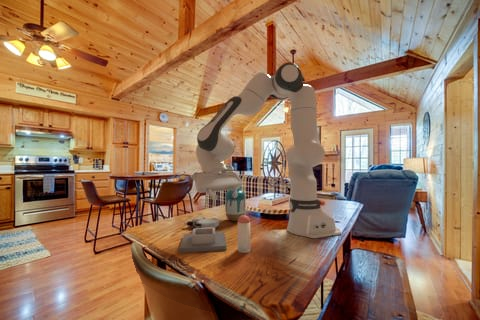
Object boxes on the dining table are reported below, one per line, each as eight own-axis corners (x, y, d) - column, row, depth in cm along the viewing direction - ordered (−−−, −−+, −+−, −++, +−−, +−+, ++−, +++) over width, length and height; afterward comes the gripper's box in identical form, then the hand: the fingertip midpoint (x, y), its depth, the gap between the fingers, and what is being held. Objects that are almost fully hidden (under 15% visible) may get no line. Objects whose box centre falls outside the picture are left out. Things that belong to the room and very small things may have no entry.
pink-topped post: (249, 247, 75) (249, 213, 75) (251, 252, 71) (251, 216, 71) (236, 248, 74) (236, 213, 74) (238, 253, 70) (238, 217, 70)
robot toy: (182, 230, 96) (203, 235, 87) (182, 220, 97) (202, 224, 87) (203, 223, 106) (224, 228, 96) (203, 214, 106) (223, 218, 96)
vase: (224, 223, 103) (224, 184, 103) (225, 217, 114) (225, 182, 114) (246, 223, 103) (245, 184, 103) (245, 217, 114) (245, 182, 114)
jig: (224, 235, 87) (224, 224, 87) (226, 250, 73) (226, 237, 73) (184, 237, 85) (184, 226, 85) (179, 252, 71) (179, 239, 71)
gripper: (193, 167, 82) (204, 195, 74) (236, 166, 94) (249, 190, 86) (189, 178, 86) (199, 206, 78) (230, 175, 98) (243, 199, 90)
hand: (226, 198), depth 82 cm, fingers open, 8 cm apart
